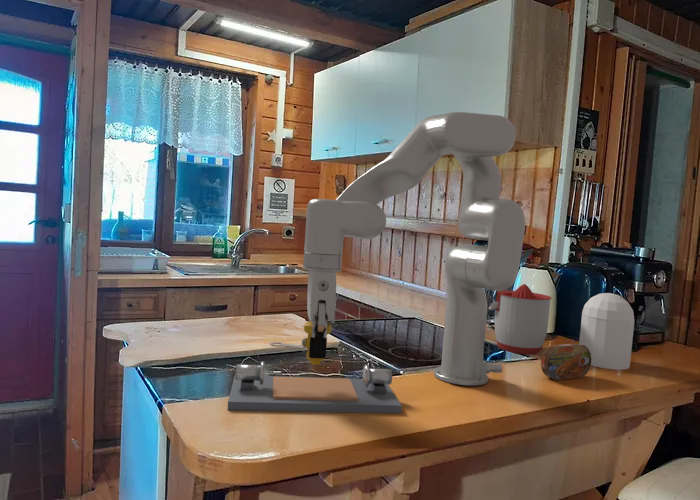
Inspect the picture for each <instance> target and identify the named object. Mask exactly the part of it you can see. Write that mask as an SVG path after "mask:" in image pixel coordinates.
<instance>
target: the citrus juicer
mask: <svg viewBox="0 0 700 500" xmlns="http://www.w3.org/2000/svg"><path fill="white" fill-rule="evenodd" d="M495 298H496V299H495V301H493V302H491V303H490V305H489V307H488V310H494V311H495V313H494V334H495V338H496V339H495V341H496V344H497V347H498V349H500V350H503V351H505V352H508V353H513V354H517V355H527V356H528V355H532V356H533V355H538V354H540V352H541V350H542V349H543V345H544V342H545V340H546V337H547V334H548V328H549V319H550V311H551V310H550V308H551V300H552V299H553V298H552V296H549V295H546V294H541V293H537V292H533V291H532V290H531V288H530V287H529V286H528V285H527V284H525V283H523V284H522V285H520V286H519V287H518V288H516V289H515V290H509V289H507V290H504V291H496V297H495Z"/></svg>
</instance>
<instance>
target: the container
mask: <svg viewBox="0 0 700 500" xmlns="http://www.w3.org/2000/svg"><path fill="white" fill-rule="evenodd" d="M580 323H581V324H580V331H579V340H578V341H579V343H578V344H579V345H584V346H586V347H587V348H588V349H589V351H590V354H591V365H590V366H593V367H596V368H601V369H607V370H618V371H619V370H620V371H621V370H622V371H623V370H627V369H630V366H631V358H632V350H633V349H632V347H633V339H634V338H633V337H634V329H635V315H634V310H633V308H632V307H631V305H630V303H629V302H628V301H627V300H626V299H625V298H623V297H622V296H621V295H618V294H615V293H611V292H602V293H598V294H596V295H594V296H592V297H590V298H589V299H588V301H586V303H585V304H584V306H583V308H582V312H581V321H580Z"/></svg>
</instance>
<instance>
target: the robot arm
mask: <svg viewBox="0 0 700 500" xmlns="http://www.w3.org/2000/svg"><path fill="white" fill-rule="evenodd" d="M516 136H517V135H516V129H515V126H514V124H513V123H512V122H511V121H510V120H509V119H508V118H507V117H505V116H503V115H497V114H487V113H486V114H485V113H476V112H475V113H474V112H465V111H464V112H463V111H451V112H447V113H443V114H437V115H431V116H427V117H425V118H424V119H422V120H421V121H419V122H418V123H417V124H416V125H415V127H414V128H413V129H412V130H411V131H409V133H408V134H407V135H406V136H405V137H404V138H403V139H402V141H400V143H399V144H398V145H397V146H396V147H395V148H394V149H393V150H392V152H390V153H389V155H388V156H387V157H386V158H385V159H384V160H382V161H381V162H378V164H376V165H374V166H373V167H372V168H370V169H369V170H367V171H366V172H365V173H364V174H362V175H361V176H359V177H357V179H355V180H353V182H352V183H350V184H349V185H348V186H347V187H346V188H345V189H344V190H343V191H342V192H341V194H340V195H339V196H338V197H337V198H336V199H329V198H313V199H310V200H309V202H308V203H307V206H306V208H307V209H306V220H305V235H304V245H303V247H304V249H303V251H304V252H303V265H302V269H303V270H306V271H308V275H307V277H308V278H307V292H306V293H307V296H306V301H307V302H306V304H307V305H306V308H307V317H308V320H309V321H311V322H312V337H310V347H309V357H310V358H321V359H324V360H325V359H326V357H327V345H328V344H327V343H328V337H327V336H328V334H327V323H328V321H329V322H330V324H333V323H335V320H336V302H337V300H336V299H337V273H339V272H342V265H343V263H342V262H343V253H344V252H343V249H344V240H345V239H344V238H346V237H347V238H353V239H359V240H371V239H374V238H376V237H378V236H380V235H381V234H382V233H383V232H384V231H385V228H386V224H387V217H386V214H385V212H384V210H383V209H382V208H381V206H379V205H378V204H380V203H381V202H383V201H385V200H387V199H390V198H391V197H394V196H397V195H400V194H402V193H405V192H407V191H410V190H411V189H413V188H415V187H417V185H418V184H419V183H420V182H421V181H422V180H423V178H424V177H425V176H426V175H427V173H428V172H430V170H431V169H432V168H433V167H434V165H435V164H436V163H437V162H439V159H441V158H442V157H443V156H444V155H453V156H454V157H455V159H456V160H457V162H458V163H459V165H460V168H461V171H462V174H463V183H462V191H461V198H460V199H461V200H460V204H459V212H458V219H457V220H458V221H457V225H458V226H457V227H458V230H459V232H460V234H462V236H464V237H466V238H467V239H473V240H481V241H487V246H485V245H478V244H477V245H476V244H460V245H456V246H455V247H454V248H451V250H450V251H449V252H448V254H447V255H446V258H445V262H444V271H445V281H446V302H445V303H446V304H445V316H444V328H443V339H442V349H441V350H442V353H441V364H440V366H438V367H435V368H434V370H433V376H434V377H435V378H437V379H439V380H440V381H444V382H446V383H450V384H452V385H453V384H454V385H460V386H469V387H470V386H481V385H485V384H487V383H488V381H489V375H490V373H497V374H501V373H502V372H503V365H502V364H499V363H498V364H496V363H495V364H494V362H487V361H486V360H484V350H485V340H486V339H485V338H486V329H487V316H488V299H487V295H486V292H485V290H489V291H494V292H497V291H504V290H509V289H510V288H511V287H512V286H513V284H514V283H515V282H516V279H517V277H518V273H519V269H520V263H521V258H522V257H521V256H522V250H523V244H524V239H525V230H526V219H525V213H524V211H523V209H522V207H521V205H519V203H517V202H516V201H514V200H512V199H508V198H500V197H501V196H500V194H501V187H502V186H501V185H502V176H501V172H500V169H499V166H498V164H497V163H496V161H495V159H494V158H493V157H499V156H503V155H505V154H507V153H508V152H509V151H510V150H511V149H512V148H513V146H514V145H515V143H516ZM315 318H316V319H318V321H315ZM315 325H318V326H316V327H315ZM308 337H309V336H308V335H307V338H308ZM306 348H307V347H306ZM307 350H308V348H307ZM488 374H489V375H488Z"/></svg>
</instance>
